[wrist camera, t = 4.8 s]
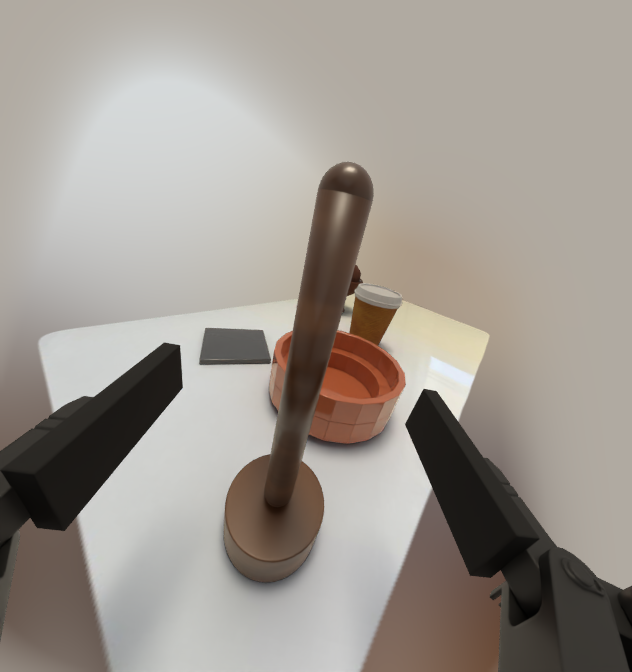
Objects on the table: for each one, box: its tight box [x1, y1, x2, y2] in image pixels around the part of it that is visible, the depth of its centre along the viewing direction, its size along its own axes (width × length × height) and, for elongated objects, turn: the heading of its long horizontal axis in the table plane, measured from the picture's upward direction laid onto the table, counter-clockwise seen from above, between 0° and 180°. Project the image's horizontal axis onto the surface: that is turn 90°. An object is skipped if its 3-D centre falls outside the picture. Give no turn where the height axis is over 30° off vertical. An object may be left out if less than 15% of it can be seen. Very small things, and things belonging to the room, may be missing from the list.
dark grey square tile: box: [200, 328, 271, 364], centre depth 38 cm, size 10×10×1 cm
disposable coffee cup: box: [350, 283, 402, 346], centre depth 47 cm, size 10×10×12 cm
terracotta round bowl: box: [269, 330, 406, 444], centre depth 31 cm, size 17×17×6 cm
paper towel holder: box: [224, 162, 373, 582], centre depth 13 cm, size 7×7×23 cm
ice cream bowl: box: [342, 265, 363, 312], centre depth 64 cm, size 11×11×15 cm
